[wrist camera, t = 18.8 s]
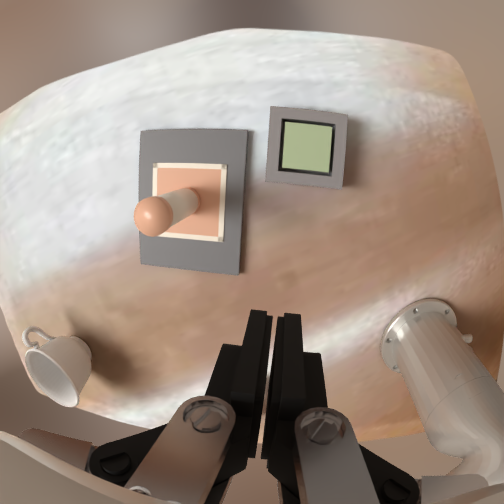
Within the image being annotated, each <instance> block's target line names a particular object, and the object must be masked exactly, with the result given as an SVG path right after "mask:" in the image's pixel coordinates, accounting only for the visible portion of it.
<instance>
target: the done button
mask: <svg viewBox="0 0 504 504" xmlns="http://www.w3.org/2000/svg"><path fill="white" fill-rule="evenodd" d="M331 138H332V127H328V126H320V125H312V124H303V123H293V122H285V134H284V148H283V161H282V168H292V169H302V170H311V171H320V172H328V173H329V163H330V151H331Z"/></svg>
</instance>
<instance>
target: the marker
mask: <svg viewBox="0 0 504 504" xmlns="http://www.w3.org/2000/svg"><path fill="white" fill-rule="evenodd" d="M200 204H201V199H200V196H199V194H198V192H197V191H196V190H194V189H192V188H182V189H179V190H175V191H172V192H168V193H165V194H162V195H158V196H151V197H148V198H145V199H143V200H141V201H140V202H139V203H138V204H137V206H136V208H135V211H134V221H135V224H136V226H137V228H138V229H139V230H140V232H142V233H143V234H144V235H147V236H150V237H155V236H159V235H161V234H162V233H164V232H165V231H167V230H168V229H169V228H170V227H171V226H173V225H175V224H176V223H178V222H180V221H181V220H183V219H185V218H186V217H188V216H190V215H192V214H193V213H195V212H196V211H197V210H198V209H199V207H200Z"/></svg>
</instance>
